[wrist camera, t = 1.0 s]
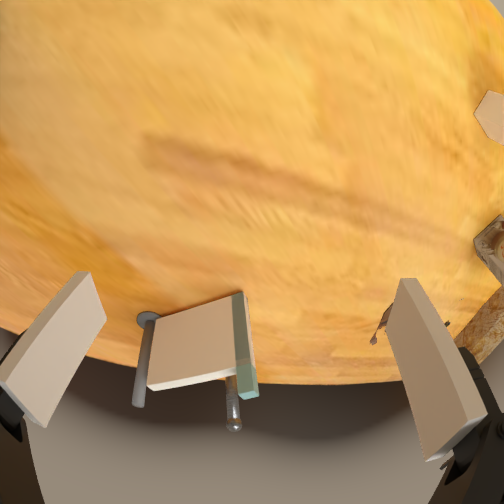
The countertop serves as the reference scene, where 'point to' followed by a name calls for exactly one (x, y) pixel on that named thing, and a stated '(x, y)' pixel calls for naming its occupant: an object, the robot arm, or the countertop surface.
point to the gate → (198, 348)
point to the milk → (492, 116)
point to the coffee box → (492, 247)
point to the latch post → (232, 404)
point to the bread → (484, 328)
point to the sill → (147, 318)
